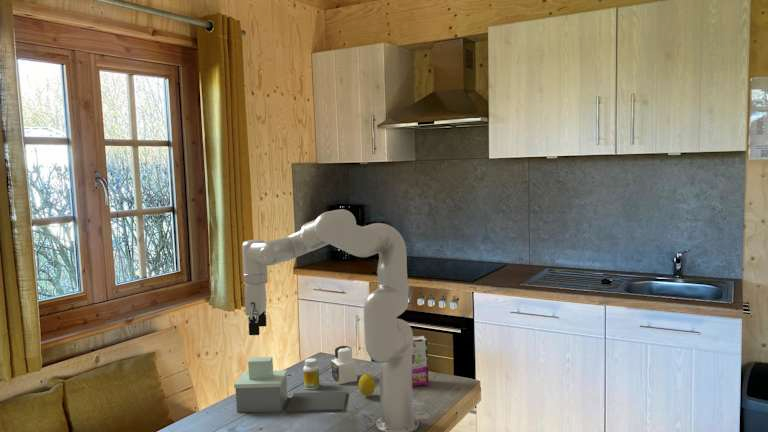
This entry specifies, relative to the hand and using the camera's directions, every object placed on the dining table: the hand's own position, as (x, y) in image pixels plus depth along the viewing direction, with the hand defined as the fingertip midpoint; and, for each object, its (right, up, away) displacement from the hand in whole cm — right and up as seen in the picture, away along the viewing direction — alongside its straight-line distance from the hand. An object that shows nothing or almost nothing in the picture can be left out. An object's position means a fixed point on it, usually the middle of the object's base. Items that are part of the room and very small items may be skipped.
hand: (258, 330), depth 186 cm
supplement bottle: (+15, -23, +16) cm, 32 cm away
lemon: (+35, -23, +5) cm, 42 cm away
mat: (+19, -24, +2) cm, 31 cm away
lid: (+1, -17, +1) cm, 17 cm away
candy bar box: (+50, -22, +15) cm, 57 cm away
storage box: (+1, -25, +2) cm, 25 cm away
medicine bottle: (+27, -22, +21) cm, 41 cm away
